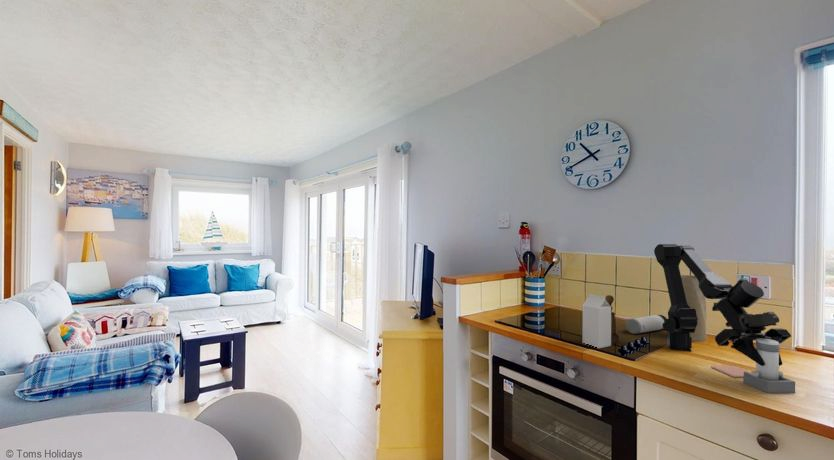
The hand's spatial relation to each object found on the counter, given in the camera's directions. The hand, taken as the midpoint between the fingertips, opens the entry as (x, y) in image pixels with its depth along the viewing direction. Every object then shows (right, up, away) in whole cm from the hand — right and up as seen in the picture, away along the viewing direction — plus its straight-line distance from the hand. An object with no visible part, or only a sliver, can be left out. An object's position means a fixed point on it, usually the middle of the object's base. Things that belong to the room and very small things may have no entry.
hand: (772, 365), depth 102 cm
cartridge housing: (0, -7, +1) cm, 7 cm away
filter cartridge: (0, -7, +1) cm, 7 cm away
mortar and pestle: (-23, -6, +43) cm, 49 cm away
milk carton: (-30, -7, +38) cm, 49 cm away
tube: (+13, -7, +47) cm, 49 cm away
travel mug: (-8, -3, +53) cm, 53 cm away
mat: (0, -6, +11) cm, 13 cm away
